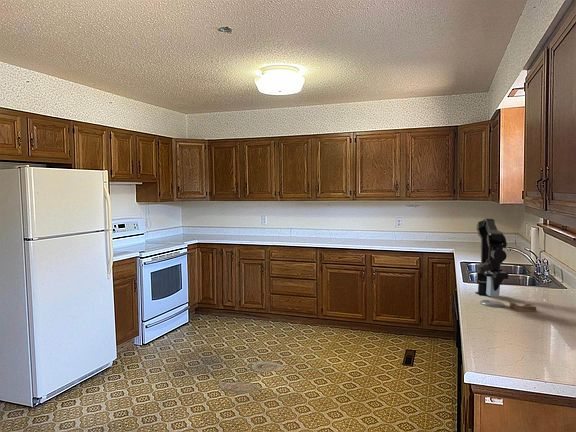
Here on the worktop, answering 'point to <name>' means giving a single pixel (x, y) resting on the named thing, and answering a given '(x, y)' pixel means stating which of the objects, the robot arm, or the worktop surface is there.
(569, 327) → the worktop surface
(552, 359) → the worktop surface
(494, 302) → the charcoal trivet
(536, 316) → the worktop surface
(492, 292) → the slate block
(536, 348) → the worktop surface
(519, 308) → the walnut bay
